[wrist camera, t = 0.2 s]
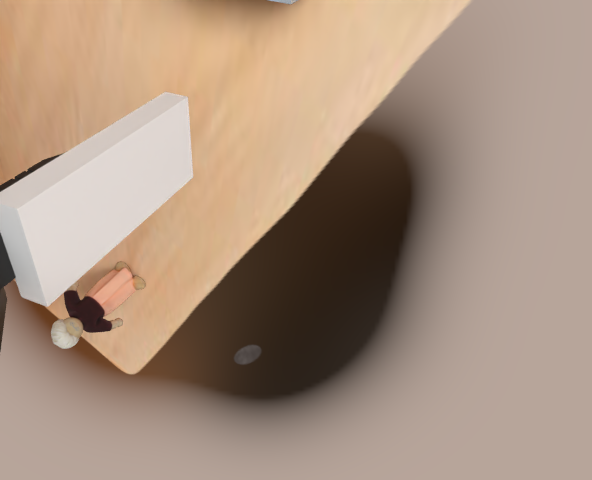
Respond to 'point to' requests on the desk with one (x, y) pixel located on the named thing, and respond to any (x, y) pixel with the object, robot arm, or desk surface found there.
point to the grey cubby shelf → (285, 1)
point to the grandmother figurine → (95, 306)
